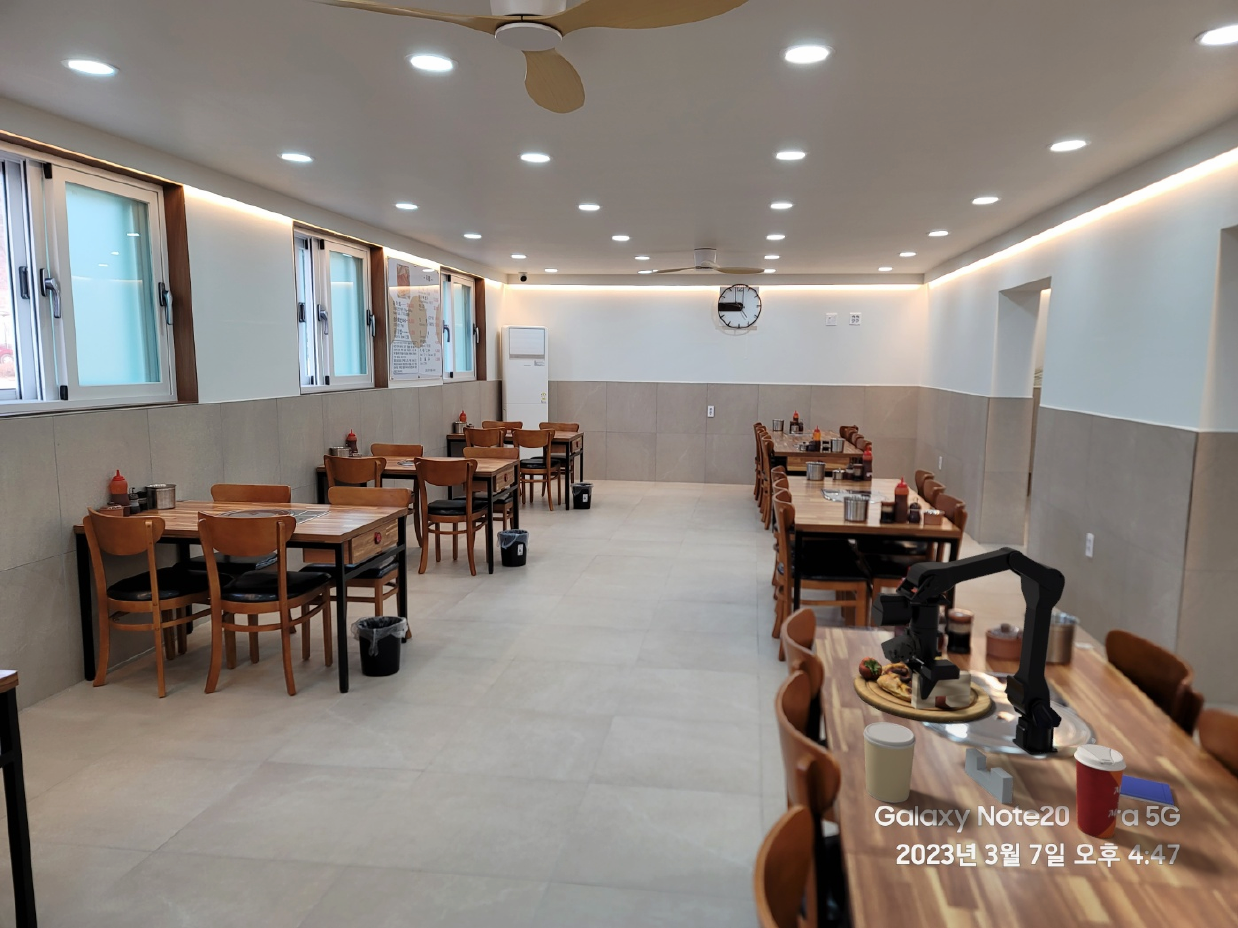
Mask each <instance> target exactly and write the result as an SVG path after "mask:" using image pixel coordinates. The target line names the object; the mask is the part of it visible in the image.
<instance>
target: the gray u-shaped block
mask: <svg viewBox="0 0 1238 928" xmlns="http://www.w3.org/2000/svg"><path fill="white" fill-rule="evenodd" d="M987 759H988V758H987V755H986V754H984V753H983V752H981V751H980V750H979V749H978V748H976V747H967V748H965V764H964V773H965V774H966V775H967V776H969V778H971V779H972V780H973V781H974V782H976V783H977V784H978V785H979V786H980V787H981V788H983V790H985V791H986V792H987V793H989V795H991V796H992V797H993V798H994V799H996V801H998V802H999V803H1000V804H1001V805H1003V804H1004V805H1005V804H1012V803H1013V791H1014V790H1013V789H1014V788H1013V786H1014V777H1013V776H1012V775H1011V774H1009V773H1008V772H1007V771H1006V770H1005V769H1003V768H1002V767H991V768H990V771H989V770H988V769H987Z"/></svg>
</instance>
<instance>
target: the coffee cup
mask: <svg viewBox="0 0 1238 928" xmlns="http://www.w3.org/2000/svg"><path fill="white" fill-rule="evenodd" d="M863 737H864V738H863V739H864V741H863V742H864V744H863V745H864V765H865V766H864V769H865V786H866V787H865V788H866V792H867V793H868V795H870V797H872V798H874V799H876V800H878V801H880V802H884V803H885V802H886V803H890V804H891V803H892V804H896V803H903V802H905V801H906V800H908V799H909V796H910V788H911V780H912V773H913V772H912V771H913V764H914V756H915V755H914V754H915V745H916V740H917V739H916V737H915V734H914V732H913V731H912V730H911V729H909V728H908V727H906V726H904V725H901V724H897V723H893V722H888V721H887V722H886V721H884V722H883V721H882V722H881V721H880V722H873V723H870V724H868V725H867V726H866V727H865V728H864V730H863Z"/></svg>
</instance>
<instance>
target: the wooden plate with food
mask: <svg viewBox="0 0 1238 928" xmlns="http://www.w3.org/2000/svg"><path fill="white" fill-rule="evenodd" d="M935 659H936V660H941V659H942V657H936V658H935ZM957 667H958V668H959V669H960V671H964V670H963V669H961V668H960V667H959V666H957ZM853 680H854V681H853V688H854V691H855V693H856V694H857V696H858V697H859V698H860V699H861V700H862V701H863V702H865V703H867V705H869V706H872V707H874V708H875V709H878V710H880V711H882V712H884V713H887V714H890V715H893V716H897V717H901V718H904V719H909V720H913V721H914V720H915V721H920V722H927V721H930V722H929V723H943V724H944V723H947V724H948V723H953V724H954V723H962V722H969V720H970V721H974V720H977V719H979V718H982V717H983V715H984V716H985V715H986V713H987V712H988V713H989V712H990V710H991V707H992V700H991V697H990V696H989V694H988V693H987V691H986V690H985V689H984V688H982V686H979V684H977V683H975V682H973V681H971V687H970V704H969V706H965V707H950V706H949V705H947V704H946V696H935V708H924V709H916V708H914V707H913V706H912V705H911V699H912V680H911V676H910V673H909V670H908V668H907V667H906V666H905V665H904V664H903V663H902V662H900V663H897V664H893V663H888V664H886V665H882V663H880V662H879V661H878V660H876V659H875V658H873V657H869V656H867V657H864V658H862V659H861V661H860V663H859V664H858V674H857V675H856V676H855V678H854V679H853ZM988 713H987V714H988ZM973 719H974V720H973Z"/></svg>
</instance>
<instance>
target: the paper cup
mask: <svg viewBox="0 0 1238 928" xmlns="http://www.w3.org/2000/svg"><path fill="white" fill-rule="evenodd" d="M1073 755H1074V758H1075V760H1076V761H1075V762H1076V765H1075V767H1076V769H1075V770H1076V771H1075V773H1076V774H1075V775H1076V776H1075V778H1076V780H1075V782H1076V785H1075V786H1076V790H1075V791H1076V793H1075V794H1076V825H1077V828H1078V829H1079V830H1080V831H1081V832H1082V833H1084V834H1085V835H1088V836H1091V837H1094V838H1098V839H1111V838H1113V836H1114V834H1115V831H1116V824H1117V818H1118V811H1119V804H1120V798H1121V797H1120V791H1121V783H1122V776H1123V775H1124V770H1125V769H1126V767H1127V763H1126V762H1125V760H1124V756H1123V755H1122V754H1121V752H1119V751H1117V750H1116V749H1113V748H1111V747H1108V746H1104V745H1100V744H1090V743H1088V744H1082V745H1079V746H1078V747H1077V749H1076V751H1075V752H1074V754H1073Z"/></svg>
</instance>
